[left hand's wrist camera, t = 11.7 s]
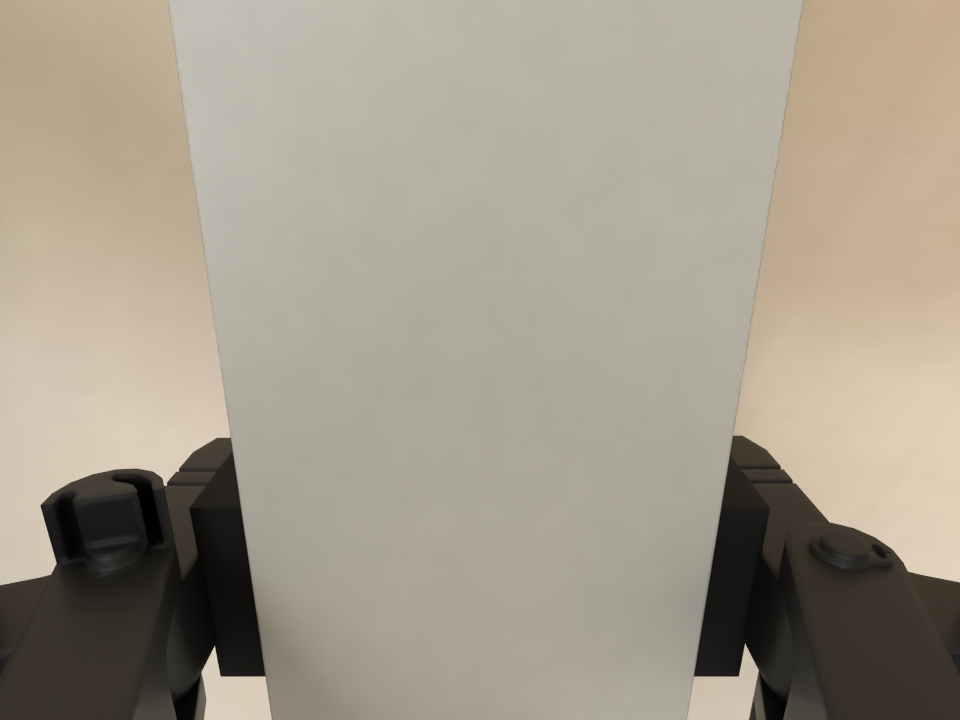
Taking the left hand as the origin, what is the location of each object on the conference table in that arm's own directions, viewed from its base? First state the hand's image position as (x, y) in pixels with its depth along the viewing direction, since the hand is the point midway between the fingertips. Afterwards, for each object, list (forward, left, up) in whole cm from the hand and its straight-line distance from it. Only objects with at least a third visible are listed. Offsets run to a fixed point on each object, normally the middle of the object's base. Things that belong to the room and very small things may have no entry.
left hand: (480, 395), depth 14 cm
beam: (+15, +25, -1) cm, 29 cm away
